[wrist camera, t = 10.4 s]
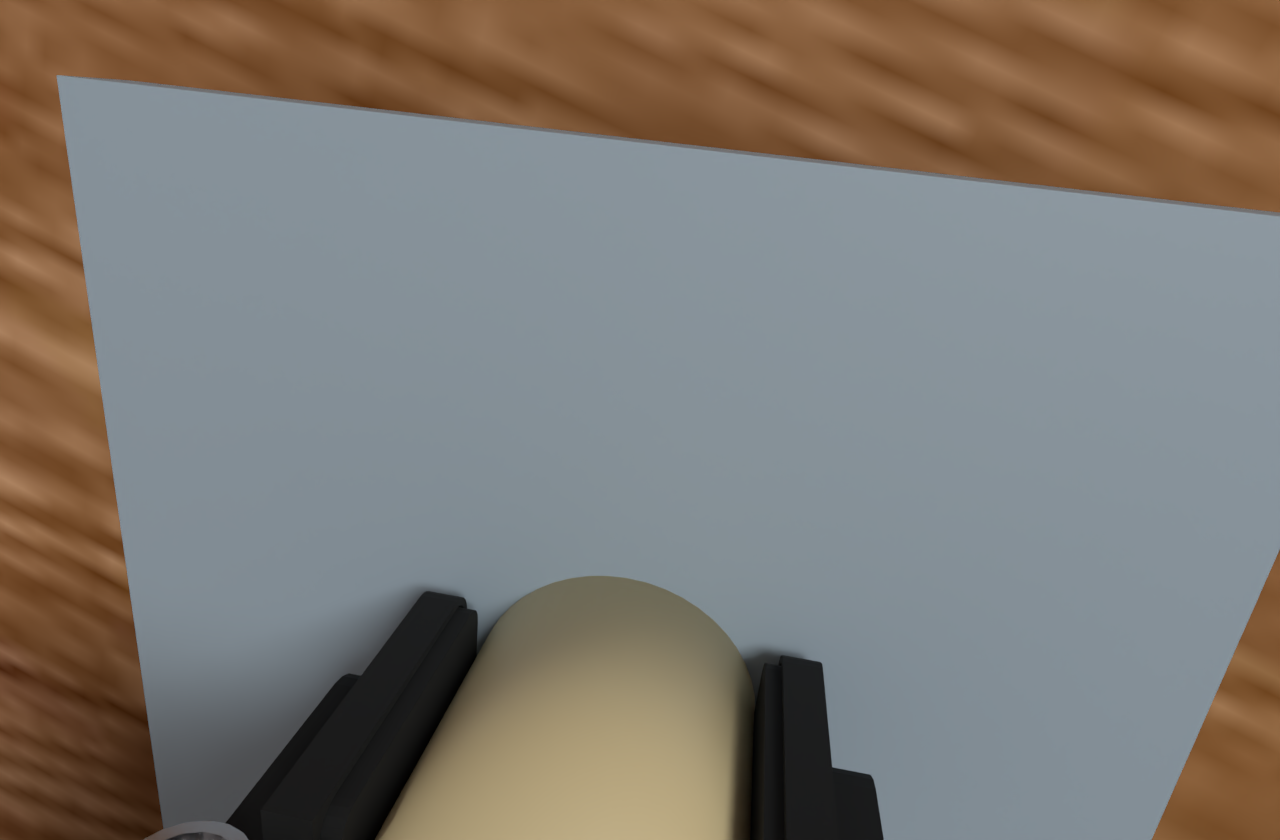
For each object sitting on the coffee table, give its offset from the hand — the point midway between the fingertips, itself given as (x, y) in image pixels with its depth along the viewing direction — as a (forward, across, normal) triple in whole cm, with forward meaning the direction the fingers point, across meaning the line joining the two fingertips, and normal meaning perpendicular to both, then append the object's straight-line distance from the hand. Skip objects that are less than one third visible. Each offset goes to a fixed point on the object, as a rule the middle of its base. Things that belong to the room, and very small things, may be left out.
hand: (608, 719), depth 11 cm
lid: (+2, 0, 0) cm, 2 cm away
